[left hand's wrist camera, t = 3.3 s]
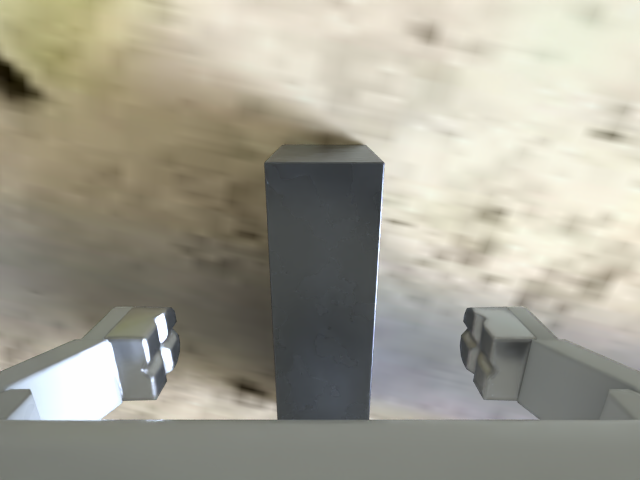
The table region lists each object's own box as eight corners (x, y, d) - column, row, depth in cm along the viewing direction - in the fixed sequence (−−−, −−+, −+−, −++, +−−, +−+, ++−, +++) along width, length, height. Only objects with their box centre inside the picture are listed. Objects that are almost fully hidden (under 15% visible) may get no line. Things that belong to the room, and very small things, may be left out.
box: (281, 144, 27) (263, 162, 19) (366, 144, 27) (384, 162, 19) (290, 406, 35) (281, 495, 27) (355, 407, 35) (364, 496, 27)
